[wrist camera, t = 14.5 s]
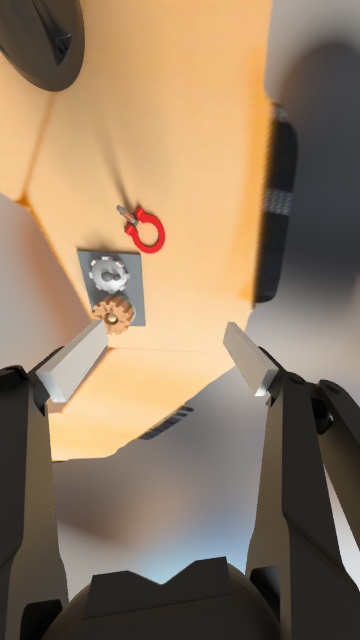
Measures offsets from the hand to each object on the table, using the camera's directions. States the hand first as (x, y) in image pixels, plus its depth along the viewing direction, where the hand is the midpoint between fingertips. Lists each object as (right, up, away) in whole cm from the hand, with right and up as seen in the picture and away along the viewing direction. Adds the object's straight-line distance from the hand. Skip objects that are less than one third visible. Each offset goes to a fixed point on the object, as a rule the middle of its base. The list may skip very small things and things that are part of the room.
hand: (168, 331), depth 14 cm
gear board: (-18, +10, +26) cm, 33 cm away
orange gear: (-18, +4, +27) cm, 33 cm away
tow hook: (-7, +24, +20) cm, 32 cm away
